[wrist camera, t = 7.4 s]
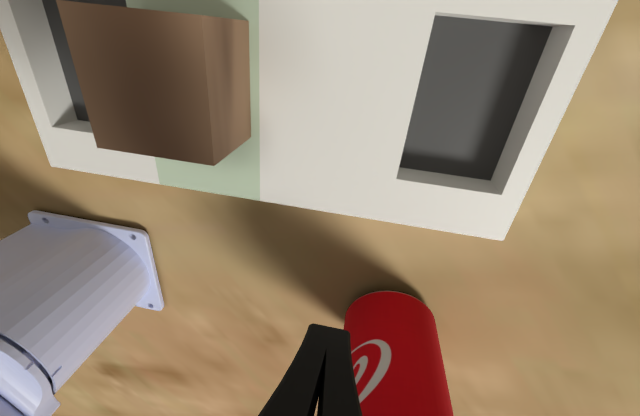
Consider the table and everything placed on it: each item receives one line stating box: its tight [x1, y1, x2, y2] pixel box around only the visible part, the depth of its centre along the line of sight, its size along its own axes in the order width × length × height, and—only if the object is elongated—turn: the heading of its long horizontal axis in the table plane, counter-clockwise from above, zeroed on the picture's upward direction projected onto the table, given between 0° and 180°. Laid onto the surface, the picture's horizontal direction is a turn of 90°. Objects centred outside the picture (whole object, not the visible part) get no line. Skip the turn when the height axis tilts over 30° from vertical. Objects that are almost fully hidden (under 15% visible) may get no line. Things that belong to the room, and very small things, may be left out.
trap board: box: [0, 0, 618, 241], centre depth 15 cm, size 26×12×2 cm, turn 85°
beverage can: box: [344, 291, 453, 416], centre depth 17 cm, size 6×6×12 cm
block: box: [56, 0, 251, 166], centre depth 13 cm, size 5×5×4 cm
